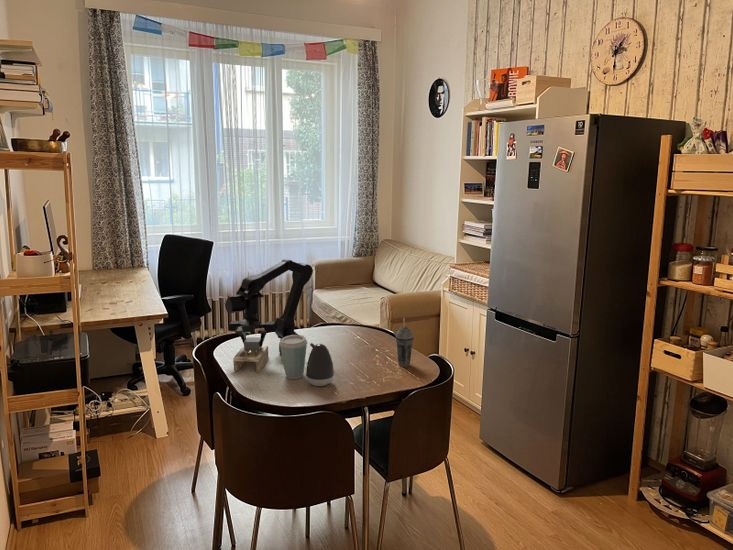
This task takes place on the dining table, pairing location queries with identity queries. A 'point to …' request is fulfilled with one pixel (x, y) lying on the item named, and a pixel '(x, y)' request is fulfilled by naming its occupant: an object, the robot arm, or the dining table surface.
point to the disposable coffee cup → (293, 355)
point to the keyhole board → (251, 358)
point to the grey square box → (252, 345)
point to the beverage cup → (404, 345)
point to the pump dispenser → (319, 366)
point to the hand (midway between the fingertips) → (253, 346)
